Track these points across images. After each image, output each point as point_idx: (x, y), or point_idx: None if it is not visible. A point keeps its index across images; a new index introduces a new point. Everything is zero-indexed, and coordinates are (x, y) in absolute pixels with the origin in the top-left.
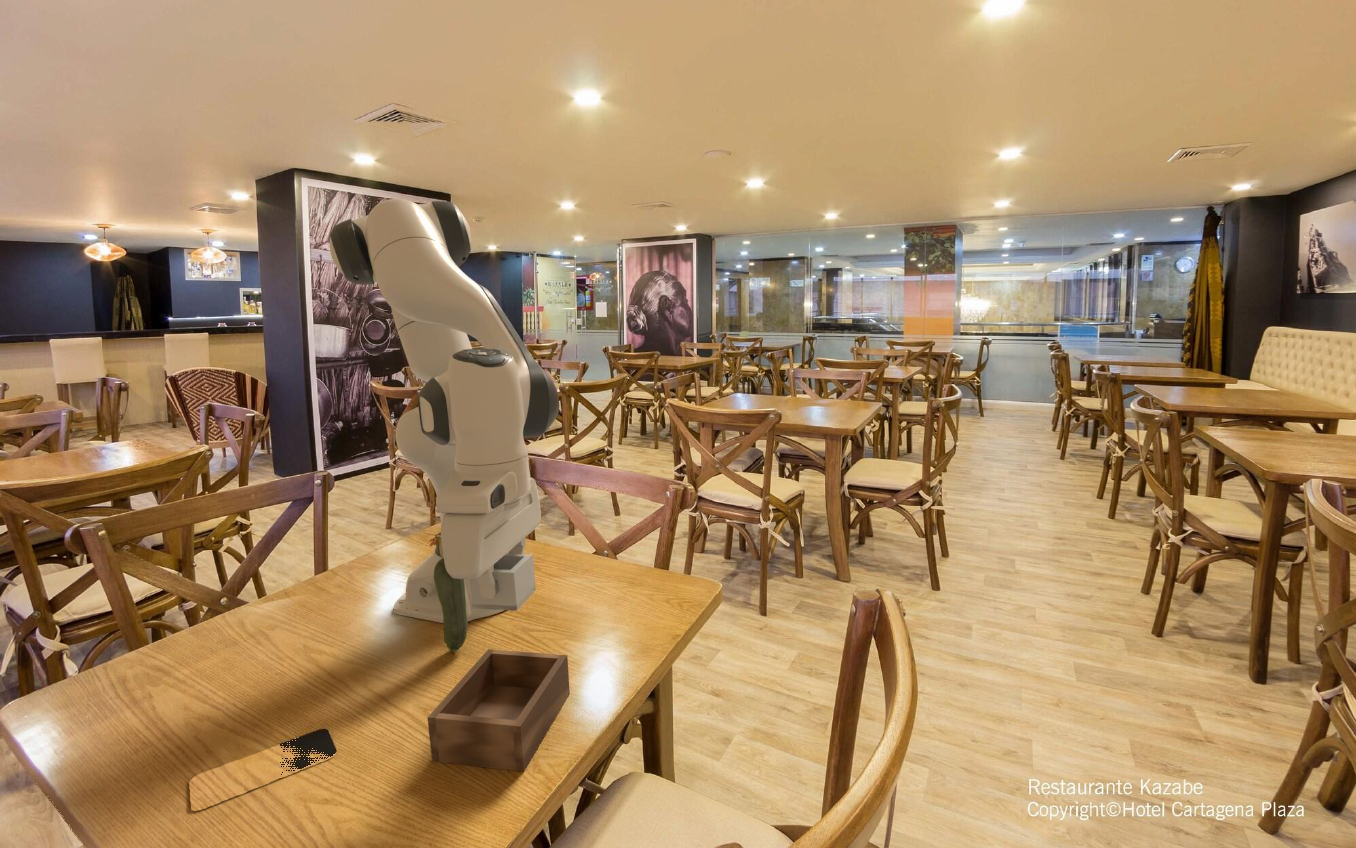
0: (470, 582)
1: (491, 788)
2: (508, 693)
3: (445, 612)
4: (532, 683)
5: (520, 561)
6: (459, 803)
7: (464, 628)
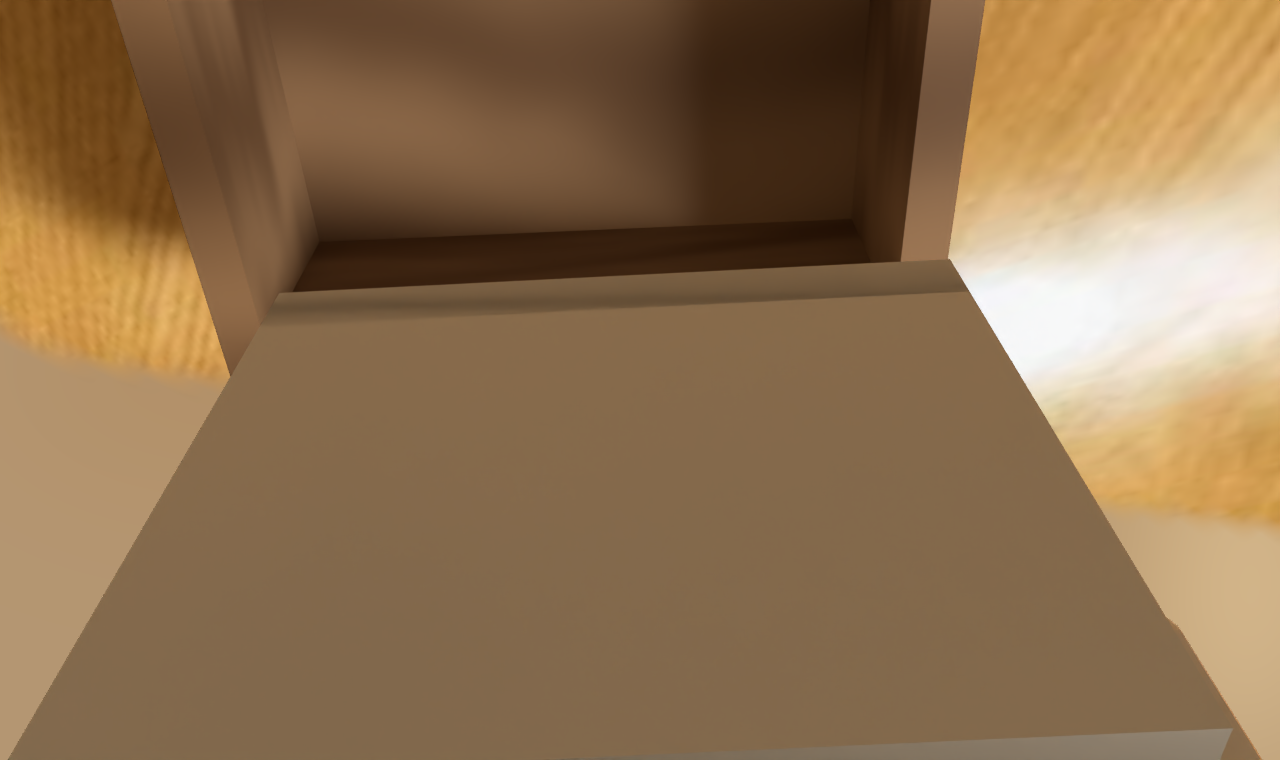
0: (130, 575)
1: (159, 173)
2: None
3: None
4: (872, 71)
5: None
6: (19, 83)
7: None
